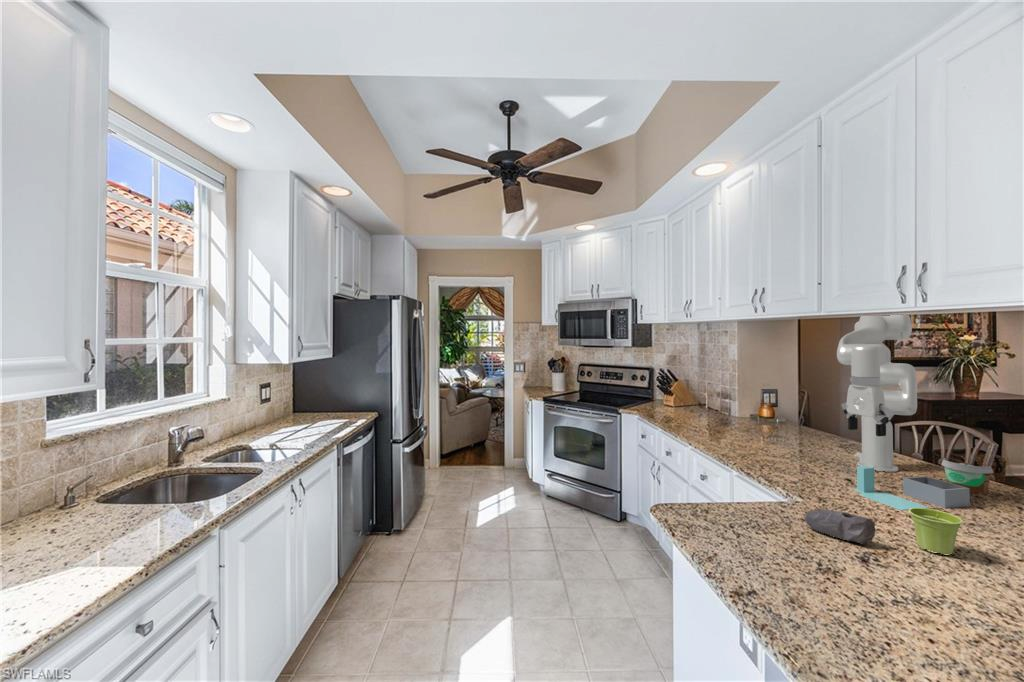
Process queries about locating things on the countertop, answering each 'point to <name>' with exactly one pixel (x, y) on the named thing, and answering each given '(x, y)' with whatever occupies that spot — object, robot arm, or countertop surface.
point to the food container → (968, 476)
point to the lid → (867, 488)
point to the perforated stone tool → (841, 525)
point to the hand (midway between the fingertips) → (866, 432)
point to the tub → (936, 492)
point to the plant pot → (935, 529)
